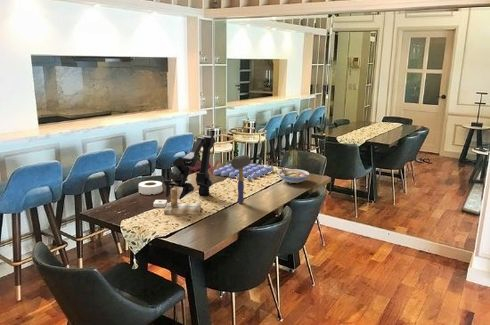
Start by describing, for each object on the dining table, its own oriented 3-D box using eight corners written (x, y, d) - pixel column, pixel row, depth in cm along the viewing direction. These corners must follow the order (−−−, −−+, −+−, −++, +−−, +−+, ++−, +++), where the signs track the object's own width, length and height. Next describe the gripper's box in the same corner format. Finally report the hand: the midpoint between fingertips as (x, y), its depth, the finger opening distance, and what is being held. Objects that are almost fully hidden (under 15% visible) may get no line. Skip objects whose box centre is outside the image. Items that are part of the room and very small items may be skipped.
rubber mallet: (240, 206, 242) (240, 158, 235) (230, 204, 246) (229, 157, 239) (251, 201, 252) (251, 154, 245) (241, 199, 256) (241, 153, 249)
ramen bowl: (311, 187, 282) (311, 176, 280) (278, 187, 282) (279, 176, 280) (306, 178, 306) (307, 167, 304) (276, 177, 306) (277, 167, 305)
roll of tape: (152, 186, 282) (152, 179, 281) (167, 191, 273) (166, 183, 271) (133, 191, 270) (133, 183, 269) (148, 196, 261) (148, 188, 259)
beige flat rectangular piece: (201, 207, 241) (200, 203, 240) (199, 214, 229) (198, 210, 228) (167, 207, 240) (167, 203, 240) (164, 214, 229) (163, 210, 228)
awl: (177, 208, 237) (176, 187, 234) (178, 210, 233) (178, 189, 230) (170, 209, 236) (169, 188, 232) (171, 211, 232) (171, 190, 229)
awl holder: (167, 203, 247) (167, 199, 246) (165, 207, 240) (164, 203, 239) (155, 203, 246) (155, 199, 246) (153, 207, 240) (153, 203, 239)
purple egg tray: (272, 172, 323) (272, 166, 322) (250, 182, 295) (250, 176, 294) (236, 166, 341) (236, 161, 340) (212, 175, 313) (212, 169, 312)
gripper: (164, 166, 236) (153, 189, 229) (190, 170, 229) (180, 193, 222) (172, 176, 245) (162, 198, 238) (198, 179, 238) (188, 202, 230)
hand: (173, 198), depth 232 cm, fingers open, 9 cm apart
